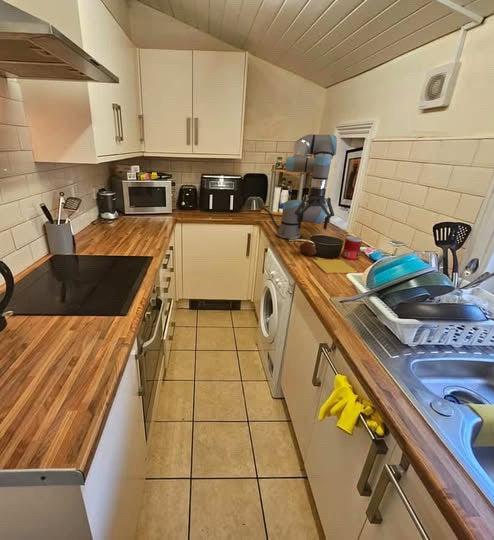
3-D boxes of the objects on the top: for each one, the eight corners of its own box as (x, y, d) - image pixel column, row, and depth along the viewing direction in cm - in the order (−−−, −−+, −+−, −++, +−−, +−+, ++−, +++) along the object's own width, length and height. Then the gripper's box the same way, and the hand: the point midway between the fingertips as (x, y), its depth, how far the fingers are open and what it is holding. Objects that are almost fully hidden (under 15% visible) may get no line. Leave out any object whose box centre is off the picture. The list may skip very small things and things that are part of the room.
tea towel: (312, 260, 158) (312, 259, 157) (341, 260, 159) (341, 259, 159) (325, 272, 143) (325, 272, 143) (357, 272, 144) (357, 271, 144)
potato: (310, 258, 160) (312, 247, 157) (295, 251, 169) (296, 241, 167) (318, 256, 163) (320, 245, 160) (303, 250, 172) (304, 239, 169)
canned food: (359, 260, 159) (363, 240, 155) (343, 259, 161) (347, 239, 156) (356, 255, 166) (360, 236, 162) (340, 254, 168) (344, 235, 163)
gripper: (295, 187, 148) (289, 229, 156) (346, 189, 147) (337, 231, 156) (292, 185, 155) (287, 225, 163) (340, 187, 154) (333, 227, 163)
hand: (311, 228), depth 159 cm, fingers open, 13 cm apart
